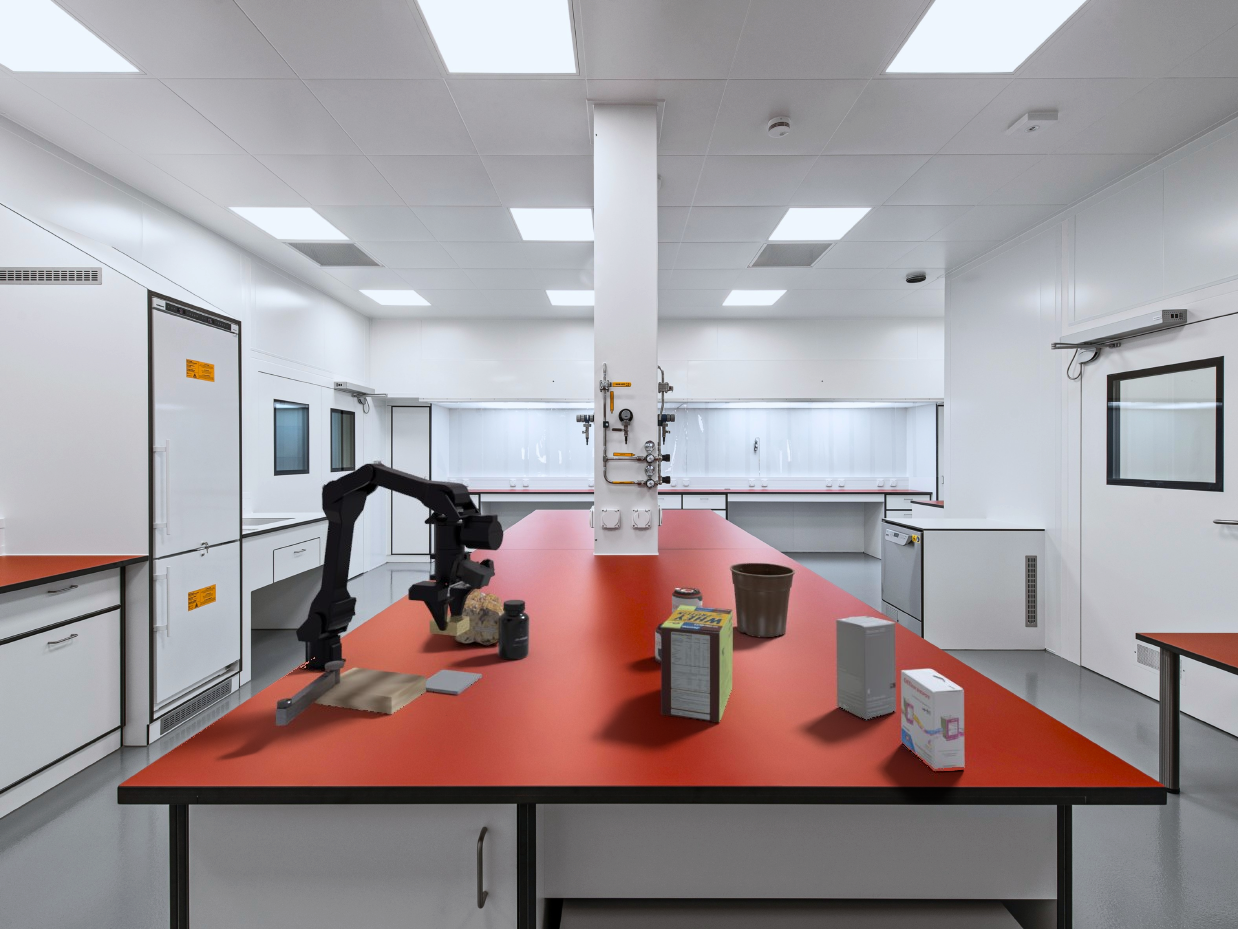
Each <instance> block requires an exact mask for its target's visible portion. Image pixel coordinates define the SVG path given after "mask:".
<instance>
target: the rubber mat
mask: <svg viewBox="0 0 1238 929" xmlns="http://www.w3.org/2000/svg"><path fill="white" fill-rule="evenodd" d="M482 677H483V674H482V673H475V672H469V671H467V672H466V671H458V670H450V669H441V670H439V671H438V672H436V673H435V674H433V675H432V676H430V677H429V678H426V692H433V691H434V693H442V694H450V695H456V696H457V695H459V694H461V693H462V692H464V691H465V690H467V689H468V688H469V687H471V686H472V685H474V682H475V681H476V682H477V681H478V679H479V678H480V679H482ZM480 679H479V680H480ZM476 682H475V683H476ZM471 684H472V685H471Z"/></svg>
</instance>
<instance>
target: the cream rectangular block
mask: <svg viewBox="0 0 1238 929" xmlns="http://www.w3.org/2000/svg"><path fill="white" fill-rule="evenodd" d="M344 667H345V662H343V661H332V662H329V663H326V664H325V670H326V671H335V685H334V686H333V687H332V688H331V689H329V690H328V691H327V692H326V693H325V694H323V695H322V696H321V697H320V698H318V699H317V700H316V701H315V702H314V704H315V703H317V704H316V705H321V704H323V705H322V706H328V705H331V706H330V707H335V706H340V707H339V708H342V707H344V708H343V709H349V708H351V710H356V709H358V710H357V711H363V710H368V711H367V712H370V711H374V712H373V713H377V712H382V713H381V714H384V713H387V715H391V714H392V715H393V714H395V713H396V712H398V711H399V710H401V709H403V708H404V707H405V706H407V705H409V704H410V703H411V702H413V701H414V700H416V699H417V698H419V697H420V696H422V695H424V694H425V693H427V691H426V680H427V676H426V675H419V674H412V673H402V672H394V671H386V670H378V669H370V668H362V667H353V668H351V669H349V670H346V671H344V672H343V673H341V669H343V668H344ZM421 694H422V695H421ZM403 706H404V707H403ZM400 708H401V709H400ZM397 710H398V711H397ZM394 712H395V713H394Z"/></svg>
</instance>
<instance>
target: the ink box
mask: <svg viewBox="0 0 1238 929" xmlns="http://www.w3.org/2000/svg"><path fill="white" fill-rule="evenodd" d="M900 700H901V701H900V702H901V703H900V705H901V706H900V710H901V712H900V716H901V717H900V718H901V720H900V723H901V726H900V727H901V730H900V731H901V732H900V734H901V737H900V738H901V741H902V742H903V743H904V744H905V745H906V746H907V747H909V748H910V749H911V750H913V751H914V752H915V753H916V754H918V756H920V757H921V758H922V759H924V760H925V761H926V762H927V763H928V764H929V765H931V766H932V767H933V768H934V769H938V768H940V769H941V768H943V769H944V768H952V767H964V768H965V691H964V689H963V687H962V686H959V685H958V684H956V683H955V682H953V681H951V680H950V679H949V678H947V677H946V676H944V675H943V674H940V673H938V671H936V670H934V669H932V668H914V669H902V670H900Z"/></svg>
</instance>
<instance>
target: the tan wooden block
mask: <svg viewBox="0 0 1238 929" xmlns="http://www.w3.org/2000/svg"><path fill="white" fill-rule="evenodd" d="M467 630H469V617H468V616H457V615H451V614H448V615H447V624H446V630H445V631H440V630H439V628H438V626H437V624H436V622H435V620H434V618H433V617H432V619H430V620H429V634H435V635H445V636H453V637H454V636H458V635H460V634H462V633H463V632H465V631H467Z"/></svg>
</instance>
